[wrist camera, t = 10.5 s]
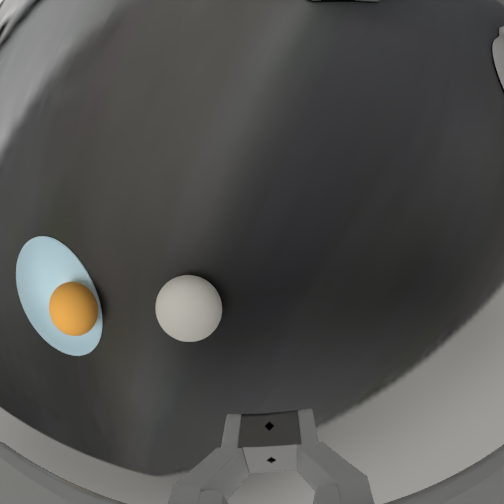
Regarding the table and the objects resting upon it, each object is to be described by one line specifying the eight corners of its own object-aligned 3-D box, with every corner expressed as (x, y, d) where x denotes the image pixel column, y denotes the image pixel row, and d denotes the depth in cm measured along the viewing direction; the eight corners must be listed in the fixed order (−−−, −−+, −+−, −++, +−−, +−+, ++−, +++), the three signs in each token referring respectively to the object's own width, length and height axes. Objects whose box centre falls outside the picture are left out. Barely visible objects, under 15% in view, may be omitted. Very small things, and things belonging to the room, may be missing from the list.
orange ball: (36, 296, 17) (49, 281, 21) (55, 349, 18) (63, 326, 22) (87, 285, 19) (92, 271, 23) (103, 340, 20) (105, 318, 24)
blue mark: (82, 226, 21) (81, 226, 21) (120, 359, 24) (119, 360, 24) (7, 244, 22) (6, 244, 22) (39, 348, 25) (39, 349, 25)
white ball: (134, 289, 17) (170, 267, 22) (153, 350, 19) (183, 320, 23) (197, 289, 16) (225, 264, 21) (212, 358, 17) (235, 323, 22)
